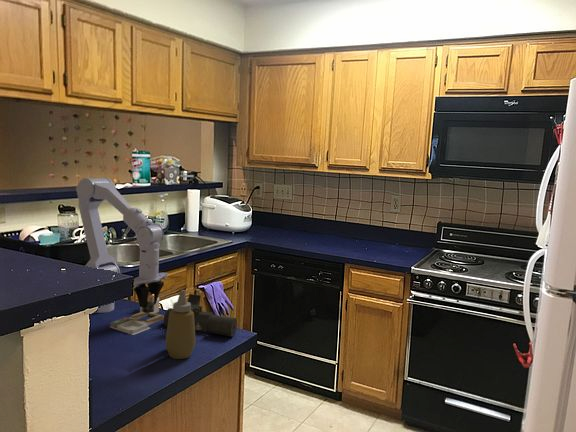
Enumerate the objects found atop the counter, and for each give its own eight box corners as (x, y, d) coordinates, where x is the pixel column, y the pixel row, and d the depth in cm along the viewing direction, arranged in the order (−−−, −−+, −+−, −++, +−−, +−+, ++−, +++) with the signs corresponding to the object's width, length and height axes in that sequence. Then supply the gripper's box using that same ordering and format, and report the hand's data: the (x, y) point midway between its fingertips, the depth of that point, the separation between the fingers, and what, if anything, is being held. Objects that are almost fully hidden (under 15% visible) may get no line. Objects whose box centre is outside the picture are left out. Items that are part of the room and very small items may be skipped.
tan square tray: (129, 323, 148) (129, 316, 148) (147, 316, 155) (148, 309, 155) (146, 328, 144) (146, 321, 144) (164, 321, 151) (165, 314, 151)
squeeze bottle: (198, 359, 126) (202, 293, 124) (168, 363, 123) (171, 296, 120) (190, 347, 133) (193, 285, 131) (161, 351, 130) (163, 287, 127)
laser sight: (228, 343, 139) (230, 310, 137) (157, 332, 143) (158, 300, 142) (238, 331, 148) (240, 300, 147) (171, 321, 153) (172, 291, 151)
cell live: (139, 310, 148) (140, 292, 148) (148, 308, 152) (148, 289, 151) (147, 313, 147) (148, 294, 146) (156, 310, 150) (157, 292, 149)
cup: (136, 313, 157) (136, 299, 156) (149, 309, 162) (149, 295, 161) (149, 317, 154) (149, 302, 153) (162, 313, 159) (163, 298, 158)
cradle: (108, 330, 141) (109, 322, 141) (127, 323, 148) (127, 316, 147) (133, 338, 137) (133, 330, 136) (150, 331, 143) (151, 323, 143)
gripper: (141, 269, 139) (139, 314, 141) (175, 261, 152) (173, 302, 153) (123, 265, 142) (122, 309, 144) (158, 257, 155) (157, 298, 157)
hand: (147, 305), depth 149 cm, fingers closed on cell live, 4 cm apart
